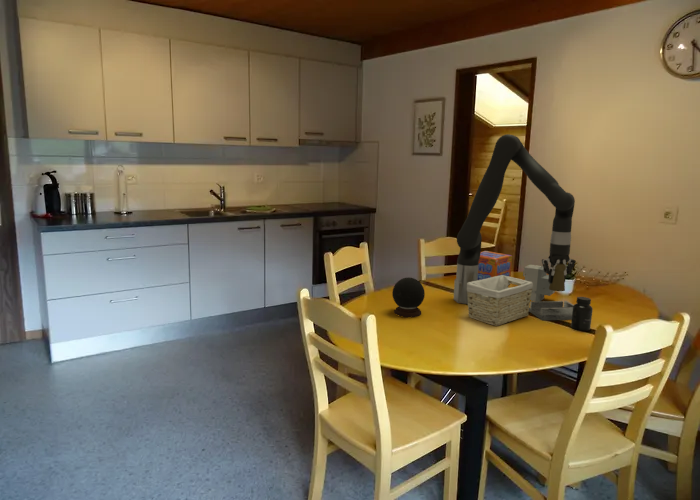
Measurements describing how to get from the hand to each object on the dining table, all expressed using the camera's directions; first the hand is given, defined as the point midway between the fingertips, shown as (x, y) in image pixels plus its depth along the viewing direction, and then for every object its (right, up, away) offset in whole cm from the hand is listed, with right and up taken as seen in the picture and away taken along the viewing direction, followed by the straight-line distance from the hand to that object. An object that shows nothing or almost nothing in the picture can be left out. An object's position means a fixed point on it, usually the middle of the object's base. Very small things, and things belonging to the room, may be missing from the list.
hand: (556, 283), depth 204 cm
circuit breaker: (+2, -9, +25) cm, 26 cm away
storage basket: (-24, -14, 0) cm, 28 cm away
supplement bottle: (+4, -16, -13) cm, 21 cm away
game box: (-14, -4, +50) cm, 52 cm away
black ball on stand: (-61, -13, +2) cm, 62 cm away
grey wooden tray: (0, -13, +2) cm, 13 cm away
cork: (0, -3, 0) cm, 3 cm away
